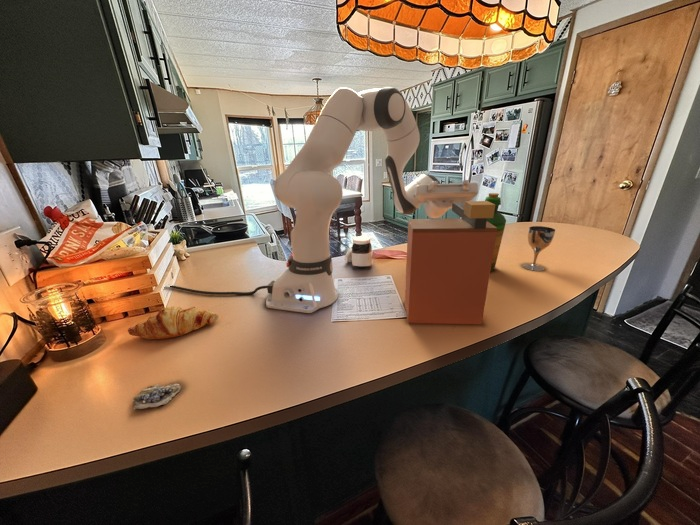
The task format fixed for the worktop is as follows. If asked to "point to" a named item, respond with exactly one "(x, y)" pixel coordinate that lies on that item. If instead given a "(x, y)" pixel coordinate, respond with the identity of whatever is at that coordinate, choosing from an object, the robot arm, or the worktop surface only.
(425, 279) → the stand
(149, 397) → the crystal geode
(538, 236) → the silver goblet
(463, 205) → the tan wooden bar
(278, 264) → the worktop surface
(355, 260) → the spread jar
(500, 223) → the bottle
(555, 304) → the worktop surface
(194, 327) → the croissant
